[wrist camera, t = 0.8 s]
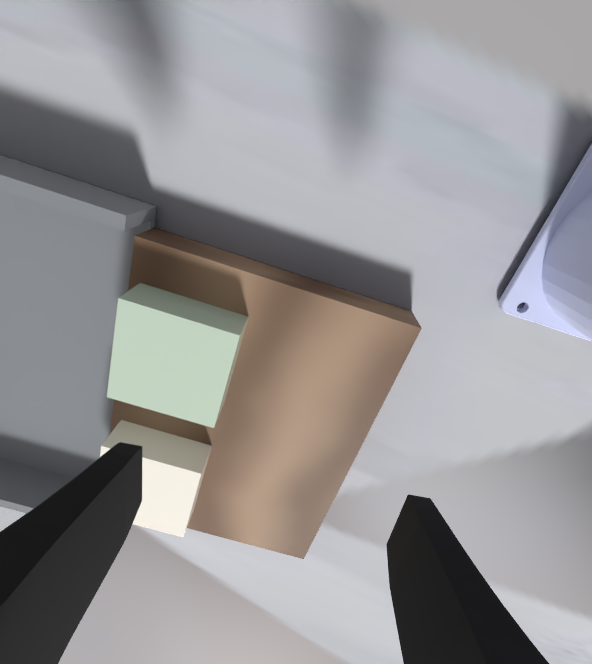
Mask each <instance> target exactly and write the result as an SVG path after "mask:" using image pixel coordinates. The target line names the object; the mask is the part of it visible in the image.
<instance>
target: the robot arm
mask: <svg viewBox="0 0 592 664" xmlns="http://www.w3.org/2000/svg"><path fill="white" fill-rule="evenodd" d="M523 302H524V303H525V305H524V307H523V308H522V309H520V310H517V306H518V305H519V304H520V303H523ZM499 307H500V309H501V310H502V311H503V312H505V313H507V314H510V315H513V316H516V317H519V318H522V319H525V320H528V321H531V322H534V323H537V324H540V325H543V326H546V327H549V328H552V329H555V330H558V331H561V332H564V333H567V334H570V335H573V336H576V337H579V338H582V339H585V340H588V341H591V342H592V144H591V145H590V147H589V149H588V150H587V152H586V154H585V155H584V157H583V159H582V161H581V162H580V164H579V166H578V167H577V169H576V171H575V172H574V174H573V176H572V177H571V179H570V181H569V183H568V184H567V186H566V188H565V189H564V191H563V193H562V194H561V196H560V198H559V200H558V201H557V203H556V205H555V206H554V208H553V210H552V211H551V213H550V215H549V216H548V218H547V220H546V222H545V223H544V225H543V227H542V228H541V230H540V232H539V233H538V235H537V237H536V239H535V240H534V242H533V244H532V245H531V247H530V249H529V250H528V252H527V254H526V255H525V257H524V259H523V261H522V262H521V264H520V266H519V267H518V269H517V271H516V272H515V274H514V276H513V278H512V279H511V281H510V283H509V284H508V286H507V288H506V289H505V291H504V293H503V294H502V296H501V298H500V300H499ZM141 502H142V446H139V445H133V444H128V443H122V442H119V443H117V444H116V445H114V446H113V447H112V448H111V449H110V450H108V451H107V452H106V453H105V454H103V455H102V456H101V457H100V458H98V459H97V460H96V461H95V462H93V463H92V464H91V465H90V466H88V467H87V468H86V469H85V470H83V471H82V472H81V473H80V474H78V475H77V476H76V477H75V478H73V479H72V480H71V481H70V482H68V483H67V484H66V485H64V486H63V487H62V488H60V489H59V490H58V491H56V492H55V493H54V494H52V495H51V496H50V497H48V498H47V499H46V500H45V501H43V502H42V503H41V504H39V505H38V506H36V507H35V508H34V509H32V510H31V511H30V512H28V513H27V514H25V515H24V516H22V517H21V518H20V519H18V520H17V521H15V522H14V523H12V524H11V525H10V526H8V527H7V528H5V529H4V530H2V531H1V532H0V664H58V662H59V660H60V658H61V656H62V655H63V653H64V650H65V649H66V647H67V645H68V643H69V641H70V639H71V637H72V635H73V633H74V632H75V630H76V628H77V626H78V624H79V622H80V621H81V619H82V617H83V615H84V614H85V612H86V610H87V608H88V607H89V605H90V603H91V601H92V599H93V597H94V596H95V594H96V592H97V590H98V589H99V587H100V585H101V583H102V581H103V580H104V578H105V576H106V574H107V572H108V571H109V569H110V567H111V565H112V563H113V562H114V560H115V558H116V556H117V554H118V552H119V551H120V549H121V547H122V545H123V543H124V541H125V539H126V537H127V535H128V533H129V530H130V528H131V526H132V524H133V521H134V519H135V516H136V514H137V512H138V509H139V507H140V504H141ZM387 556H388V571H389V582H390V590H391V596H392V602H393V607H394V613H395V618H396V624H397V629H398V635H399V640H400V645H401V651H402V656H403V662H404V664H549V663H548V662H547V660H546V659H545V658H544V657H543V656H542V655H541V653H540V652H539V651H538V650H537V648H536V647H535V646H534V645H533V643H532V642H531V641H530V640H529V638H528V637H527V636H526V634H525V633H524V632H523V630H522V629H521V628H520V627H519V625H518V624H517V623H516V621H515V620H514V619H513V617H512V616H511V615H510V613H509V612H508V611H507V609H506V608H505V607H504V606H503V604H502V603H501V601H500V600H499V599H498V597H497V596H496V595H495V593H494V592H493V590H492V589H491V588H490V586H489V585H488V583H487V582H486V580H485V579H484V578H483V576H482V575H481V573H480V572H479V571H478V569H477V568H476V566H475V565H474V564H473V562H472V560H471V559H470V558H469V556H468V555H467V553H466V552H465V550H464V549H463V547H462V546H461V544H460V543H459V541H458V540H457V538H456V537H455V535H454V534H453V532H452V531H451V529H450V527H449V526H448V524H447V523H446V522H445V520H444V518H443V517H442V515H441V514H440V512H439V511H438V509H437V508H436V507H435V505H434V503H433V502H432V500H431V499H430V498H424V497H419V496H413V495H408V496H407V498H406V501H405V503H404V505H403V508H402V510H401V512H400V515H399V517H398V519H397V522H396V524H395V526H394V529H393V531H392V533H391V536H390V538H389V540H388V543H387Z"/></svg>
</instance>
